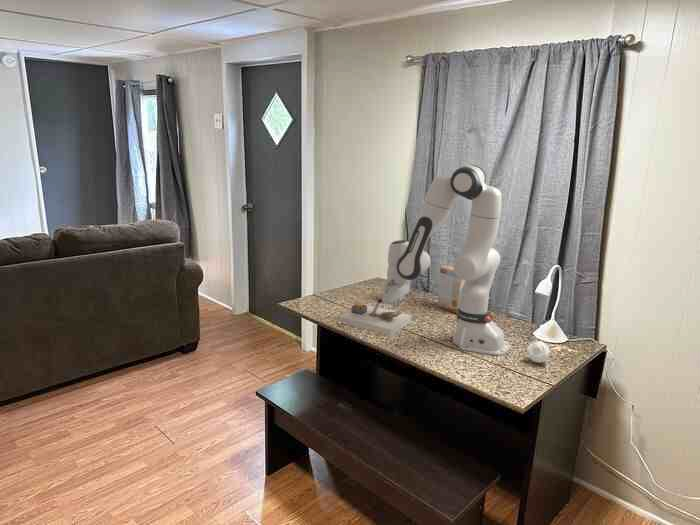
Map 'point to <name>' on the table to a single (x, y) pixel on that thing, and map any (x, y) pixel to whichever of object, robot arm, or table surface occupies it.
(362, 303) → the push button
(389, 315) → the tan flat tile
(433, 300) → the table surface
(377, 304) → the toggle lever
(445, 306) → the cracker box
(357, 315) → the switch panel
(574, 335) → the table surface
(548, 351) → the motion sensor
